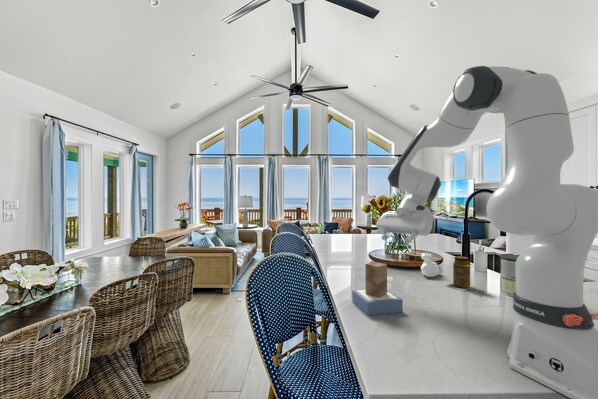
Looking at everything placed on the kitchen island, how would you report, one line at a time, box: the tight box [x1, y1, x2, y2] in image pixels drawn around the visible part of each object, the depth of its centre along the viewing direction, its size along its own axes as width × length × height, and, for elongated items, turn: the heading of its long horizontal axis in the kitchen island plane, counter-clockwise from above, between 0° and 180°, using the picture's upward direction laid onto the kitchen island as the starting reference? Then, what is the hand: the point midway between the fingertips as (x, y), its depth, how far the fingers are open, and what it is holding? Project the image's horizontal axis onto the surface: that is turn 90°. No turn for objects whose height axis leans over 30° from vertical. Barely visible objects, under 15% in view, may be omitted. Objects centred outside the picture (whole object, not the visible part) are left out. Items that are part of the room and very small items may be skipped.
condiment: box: [445, 255, 475, 291], centre depth 115 cm, size 7×8×12 cm
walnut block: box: [365, 261, 388, 298], centre depth 95 cm, size 5×5×10 cm
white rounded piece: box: [420, 252, 440, 278], centre depth 133 cm, size 12×8×11 cm
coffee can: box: [499, 253, 520, 298], centre depth 106 cm, size 10×10×14 cm
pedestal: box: [351, 288, 404, 316], centre depth 95 cm, size 12×12×4 cm
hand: (395, 240), depth 103 cm, fingers open, 8 cm apart
